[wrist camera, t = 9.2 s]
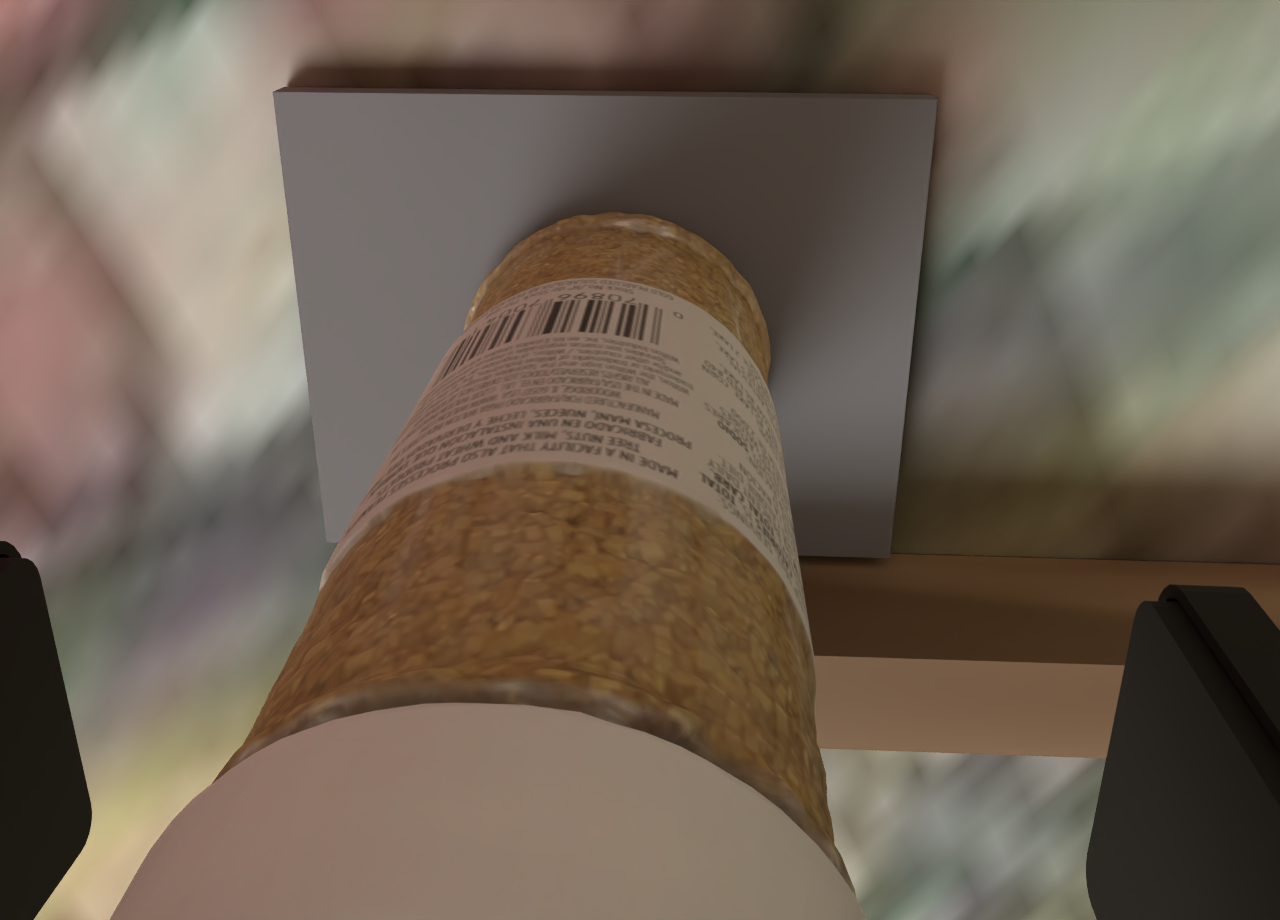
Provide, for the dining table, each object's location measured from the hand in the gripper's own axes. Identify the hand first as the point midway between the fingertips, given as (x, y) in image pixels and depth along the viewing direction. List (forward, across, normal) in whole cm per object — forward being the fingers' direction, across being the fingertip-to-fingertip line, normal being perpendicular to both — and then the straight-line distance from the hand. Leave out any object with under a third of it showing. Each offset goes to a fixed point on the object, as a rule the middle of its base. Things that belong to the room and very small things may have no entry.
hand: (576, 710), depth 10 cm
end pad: (+9, +1, -1) cm, 9 cm away
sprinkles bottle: (+8, 0, 0) cm, 9 cm away
